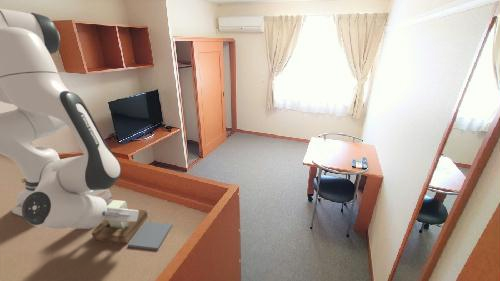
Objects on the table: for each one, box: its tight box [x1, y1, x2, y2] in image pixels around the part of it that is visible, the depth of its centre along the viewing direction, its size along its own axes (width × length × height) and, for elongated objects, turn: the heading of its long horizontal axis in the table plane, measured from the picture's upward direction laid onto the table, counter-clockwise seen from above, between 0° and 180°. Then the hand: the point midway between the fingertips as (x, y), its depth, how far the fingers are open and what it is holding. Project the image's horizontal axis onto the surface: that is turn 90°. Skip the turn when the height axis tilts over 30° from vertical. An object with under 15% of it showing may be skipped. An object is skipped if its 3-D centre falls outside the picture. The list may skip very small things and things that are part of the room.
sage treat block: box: [107, 199, 129, 229], centre depth 78 cm, size 4×4×10 cm
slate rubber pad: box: [127, 220, 173, 251], centre depth 77 cm, size 10×10×1 cm
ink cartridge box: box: [85, 188, 114, 206], centre depth 82 cm, size 9×5×15 cm, turn 148°
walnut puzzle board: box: [91, 208, 148, 244], centre depth 80 cm, size 12×12×3 cm
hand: (119, 214), depth 79 cm, fingers open, 8 cm apart
